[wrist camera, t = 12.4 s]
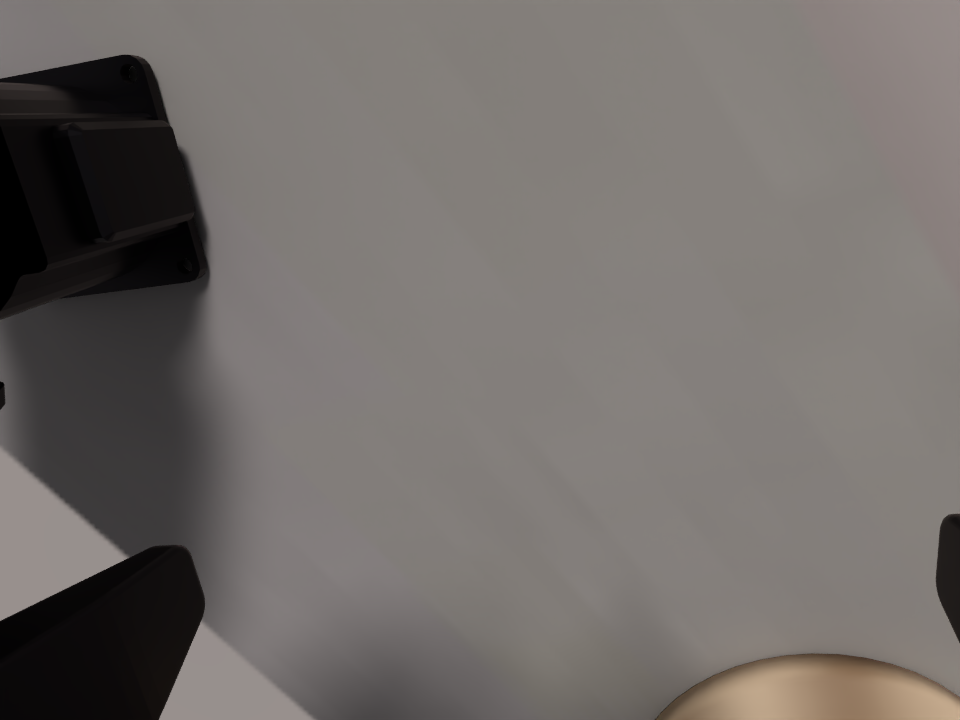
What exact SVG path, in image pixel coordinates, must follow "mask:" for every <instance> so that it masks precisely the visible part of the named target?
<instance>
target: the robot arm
mask: <svg viewBox="0 0 960 720" xmlns="http://www.w3.org/2000/svg"><path fill="white" fill-rule="evenodd" d="M132 66H133V67H134V68H135V70H136V71H137V79H136V81H135V82H133V81H132V80H131V79H130V77H129V70H130V68H131V67H132ZM194 212H195V207H194V204H193V200H192V197H191V193H190V189H189V186H188V182H187V179H186V175H185V171H184V168H183V164H182V161H181V157H180V153H179V150H178V146H177V143H176V139H175V135H174V132H173V129H172V127H171V126H170V125H168V124H167V120H166V117H165V113H164V109H163V106H162V102H161V99H160V95H159V92H158V88H157V84H156V81H155V77H154V74H153V71H152V69H151V66H150V64H149V63H148V62H147V61H146V60H145V59H143V58H141V57H139V56H134V55H119V56H114V57H109V58H104V59H99V60H94V61H89V62H84V63H78V64H73V65H68V66H63V67H58V68H53V69H48V70H43V71H38V72H33V73H28V74H23V75H17V76H12V77H7V78H2V79H0V320H1V319H3V318H6V317H9V316H12V315H14V314H17V313H20V312H23V311H26V310H28V309H31V308H34V307H37V306H39V305H42V304H45V303H48V302H50V301H53V300H56V299H60V298H68V297H75V296H83V295H91V294H99V293H107V292H115V291H122V290H130V289H138V288H146V287H154V286H162V285H169V284H177V283H185V282H191V281H193V280H196V279H198V278H200V277H202V276H203V275H204V274H205V271H206V268H207V266H206V259H205V256H204V252H203V249H202V245H201V242H200V238H199V234H198V231H197V227H196V224H195V220H194V217H193V214H194ZM185 258H187V259H188V260H189V261H190V262H191V264H192V271H189V270H188V269H186V267H185V265H184V259H185ZM4 405H5V388H4V383H3V382H0V409H1V408H2V407H3V406H4ZM936 587H937V592H938V596H939V599H940V602H941V604H942V606H943V608H944V611H945V613H946V615H947V617H948V619H949V621H950V623H951V625H952V628H953V630H954V632H955V634H956V636H957V638H958V640H959V643H960V514H950V515H948V516H946V517H945V518H944V519H943V521H942V523H941V526H940V535H939V546H938V558H937V570H936ZM204 609H205V598H204V593H203V590H202V587H201V584H200V581H199V578H198V575H197V572H196V569H195V565H194V562H193V559H192V556H191V554H190V552H189V551H188V549H187V548H186V547H184V546H182V545H165V546H154V547H151V548H148V549H146V550H144V551H142V552H140V553H138V554H136V555H134V556H132V557H130V558H128V559H126V560H124V561H122V562H120V563H118V564H116V565H114V566H112V567H110V568H108V569H106V570H103V571H102V572H100V573H97V574H96V575H93V576H92V577H89V578H88V579H85V580H83V581H81V582H79V583H77V584H75V585H73V586H71V587H69V588H67V589H65V590H63V591H61V592H59V593H57V594H54V595H52V596H50V597H49V598H46V599H44V600H42V601H40V602H38V603H36V604H34V605H32V606H30V607H28V608H26V609H24V610H22V611H20V612H18V613H16V614H14V615H12V616H10V617H7V618H5V619H3V620H2V621H0V720H159V718H160V715H161V713H162V711H163V709H164V707H165V704H166V702H167V700H168V697H169V695H170V692H171V690H172V688H173V686H174V683H175V681H176V679H177V676H178V674H179V671H180V669H181V667H182V665H183V662H184V660H185V657H186V655H187V653H188V650H189V648H190V646H191V643H192V641H193V639H194V636H195V634H196V632H197V629H198V627H199V625H200V622H201V620H202V617H203V614H204Z"/></svg>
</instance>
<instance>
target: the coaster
mask: <svg viewBox="0 0 960 720" xmlns="http://www.w3.org/2000/svg"><path fill="white" fill-rule="evenodd" d="M656 720H960V697H959V696H957V695H955V694H954V693H952V692H951V691H949V690H948V689H946V688H945V687H943V686H942V685H940V684H938V683H936V682H934V681H932V680H930V679H928V678H926V677H924V676H922V675H920V674H918V673H916V672H913V671H910V670H907V669H904V668H902V667H899V666H896V665H893V664H889V663H885V662H881V661H877V660H873V659H868V658H862V657H855V656H847V655H839V654H801V655H786V656H780V657H774V658H768V659H762V660H758V661H754V662H751V663H747V664H744V665H740V666H736V667H734V668H731V669H729V670H726V671H724V672H721V673H719V674H716V675H714V676H712V677H710V678H708V679H706V680H704V681H703V682H701V683H699V684H697V685H695V686H693V687H692V688H691V689H689V690H688V691H686V692H685V693H684V694H682V695H681V696H679V697H678V698H676V699H675V700H674V701H673V702H672V703H671V704H670V705H669V706H668V707H667V708H666V709H665V710H664V711H662V712H661V714H660V715H659V716H658V717H657V719H656Z"/></svg>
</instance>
